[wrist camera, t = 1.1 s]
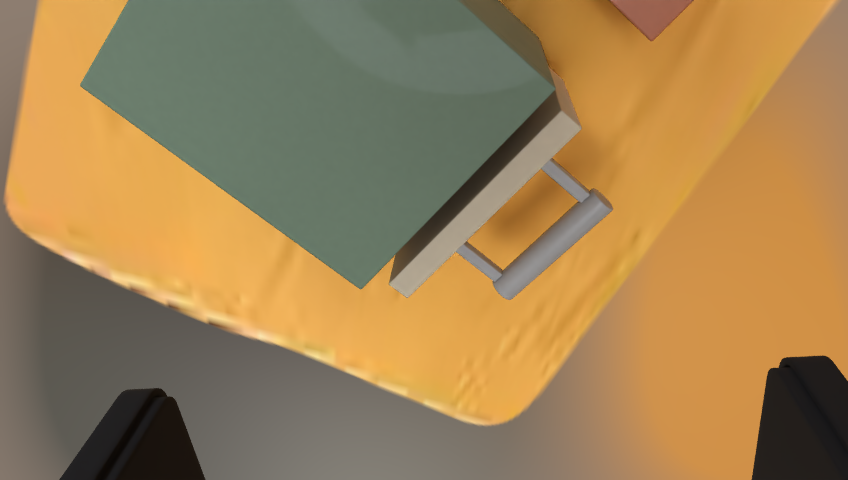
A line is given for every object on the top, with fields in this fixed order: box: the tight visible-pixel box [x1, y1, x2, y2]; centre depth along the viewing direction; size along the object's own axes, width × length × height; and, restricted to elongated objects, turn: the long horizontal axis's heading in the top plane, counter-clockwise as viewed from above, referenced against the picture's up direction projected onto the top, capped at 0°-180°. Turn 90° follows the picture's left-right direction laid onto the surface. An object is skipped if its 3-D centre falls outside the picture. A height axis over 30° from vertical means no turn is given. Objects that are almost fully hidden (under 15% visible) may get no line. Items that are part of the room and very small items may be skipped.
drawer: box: [389, 68, 613, 300], centre depth 32 cm, size 18×11×7 cm, turn 50°
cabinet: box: [80, 0, 556, 289], centre depth 30 cm, size 15×13×9 cm
